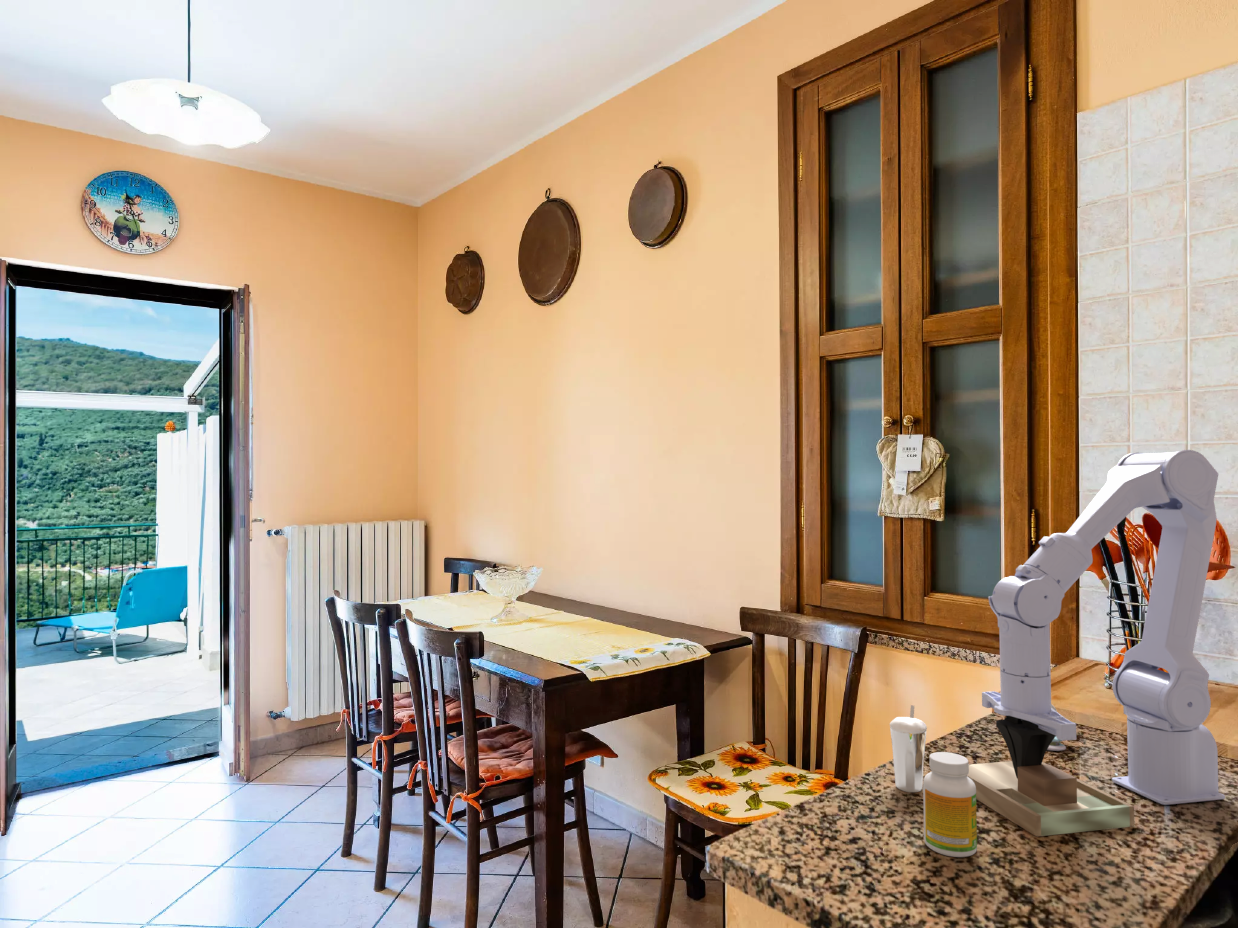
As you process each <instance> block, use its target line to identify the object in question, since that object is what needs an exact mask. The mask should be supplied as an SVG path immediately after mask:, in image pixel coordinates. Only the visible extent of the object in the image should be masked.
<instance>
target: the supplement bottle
mask: <svg viewBox="0 0 1238 928" xmlns="http://www.w3.org/2000/svg"><path fill="white" fill-rule="evenodd" d="M928 765H929V769H930V772H928V773H927V774H925V775H924V776H923V786H922V791H923V793H922V796H923V807H922V808H923V840H924V843H925V845H926V846H927V847H928V848H929V849H930V850H932V851H934V852H936V853H938V854H941V855H943V856H948V857H954V858H965V857H966V858H967V857H970V856H973V855H974V854H976V852H977V850H978V833H977V832H978V827H977V826H978V825H977V823H978V822H977V818H978V817H977V799H976V786H975V784H974V782H973V781H972V780H971V779H970V778H969V777H967V775H968V774H969V765H970V764H969V759H968V758H967V757H965V756H963V755H960V754H958V753H955V752H947V751H937V752H933V753H930V754H929V763H928Z"/></svg>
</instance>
